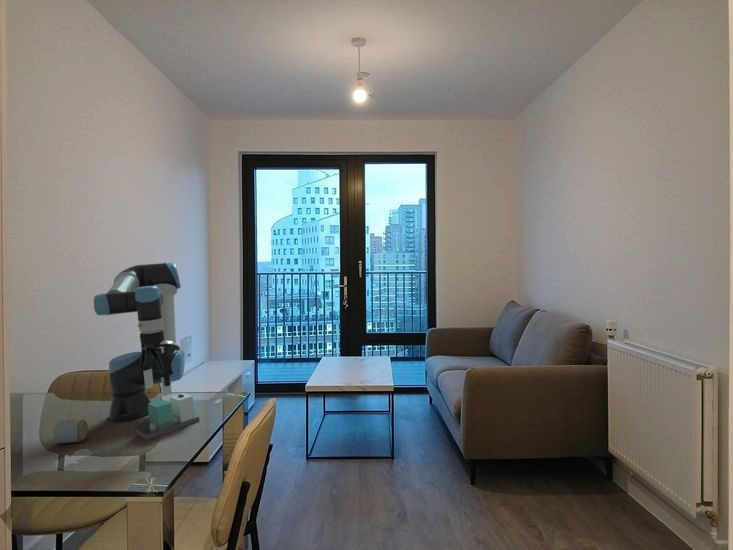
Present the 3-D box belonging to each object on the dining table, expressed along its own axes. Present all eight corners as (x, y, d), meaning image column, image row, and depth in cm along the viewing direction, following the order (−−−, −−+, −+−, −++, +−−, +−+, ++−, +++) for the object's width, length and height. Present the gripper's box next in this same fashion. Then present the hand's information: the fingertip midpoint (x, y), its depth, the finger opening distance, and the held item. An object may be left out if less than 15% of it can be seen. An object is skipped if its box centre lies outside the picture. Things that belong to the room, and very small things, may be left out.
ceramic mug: (80, 444, 163) (77, 422, 162) (54, 447, 162) (51, 424, 161) (94, 432, 173) (92, 411, 173) (70, 435, 172) (67, 414, 172)
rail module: (159, 430, 166) (156, 407, 166) (150, 425, 171) (147, 403, 170) (173, 425, 170) (171, 402, 169) (164, 421, 175) (162, 399, 174)
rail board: (146, 439, 163) (143, 410, 162) (136, 434, 168) (133, 405, 167) (199, 420, 177) (196, 393, 176) (188, 416, 182) (185, 390, 181)
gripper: (125, 330, 173) (132, 388, 176) (157, 337, 157) (164, 401, 159) (146, 325, 179) (152, 382, 181) (179, 332, 162) (186, 394, 164)
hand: (158, 391), depth 170 cm, fingers open, 13 cm apart
